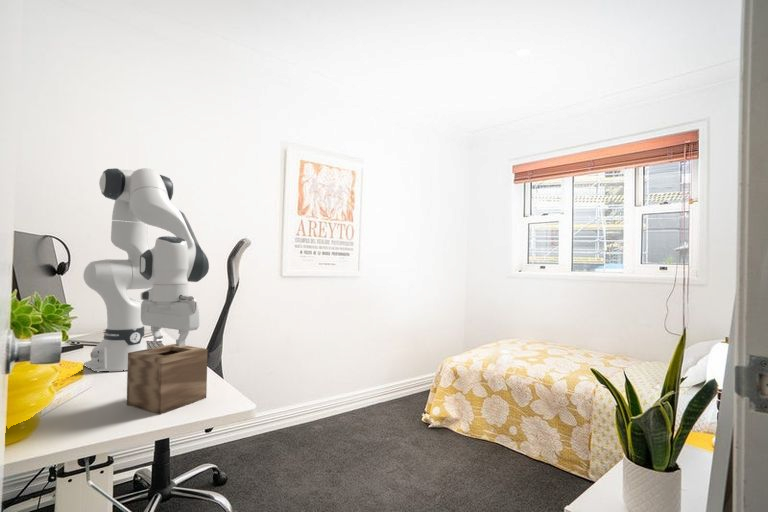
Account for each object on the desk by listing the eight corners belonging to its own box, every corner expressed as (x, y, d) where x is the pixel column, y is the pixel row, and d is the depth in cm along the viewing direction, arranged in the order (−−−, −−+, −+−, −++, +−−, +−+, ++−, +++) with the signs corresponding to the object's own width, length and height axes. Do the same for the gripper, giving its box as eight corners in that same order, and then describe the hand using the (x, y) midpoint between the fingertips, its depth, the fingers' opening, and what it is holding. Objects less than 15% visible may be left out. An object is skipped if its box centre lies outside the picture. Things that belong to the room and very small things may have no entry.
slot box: (126, 404, 108) (128, 352, 109) (173, 390, 121) (174, 343, 121) (160, 414, 102) (161, 359, 103) (206, 398, 115) (207, 349, 115)
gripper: (206, 295, 110) (204, 346, 110) (157, 291, 119) (156, 338, 119) (185, 297, 105) (184, 350, 105) (136, 293, 114) (135, 342, 113)
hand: (169, 344), depth 112 cm, fingers open, 8 cm apart
